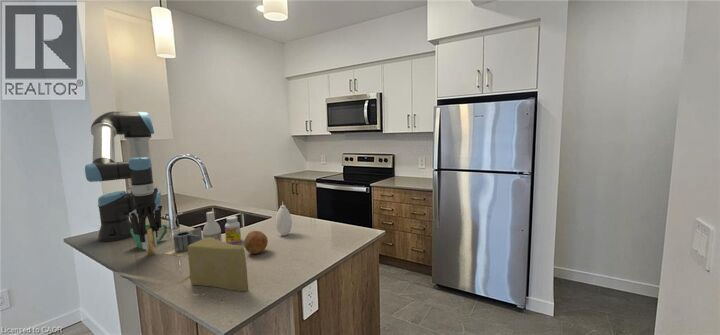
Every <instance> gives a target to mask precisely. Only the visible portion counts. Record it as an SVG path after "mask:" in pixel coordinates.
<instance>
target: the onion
mask: <svg viewBox="0 0 720 335" xmlns="http://www.w3.org/2000/svg"><path fill="white" fill-rule="evenodd" d="M268 240H269V239H268V237H267V235H266V234H265V233H263V232H262V231H260V230H252V231H249V232H248V234H247V235H246V236H245V238H244V242H243V243H244V244H243V246H244V250H245V251H247V252H248V253H249V254H252V255H253V254H254V255H256V254H260V253H263V252H264V251H265V250H266V248H267V246H268V244H269V243H268V242H269V241H268Z"/></svg>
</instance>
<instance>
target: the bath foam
mask: <svg viewBox="0 0 720 335" xmlns="http://www.w3.org/2000/svg"><path fill="white" fill-rule="evenodd" d="M205 214H206V222H205V224H204V226H203V229H202V240H203V239H205V238H209V237H211V238H214V239H217V240H219V241H221V242H223V239H222V238H223V237H222V229H221V226H220V224H219V223H218V222H217V221H216V219H215V212H214V211H208V212H206V213H205Z"/></svg>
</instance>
